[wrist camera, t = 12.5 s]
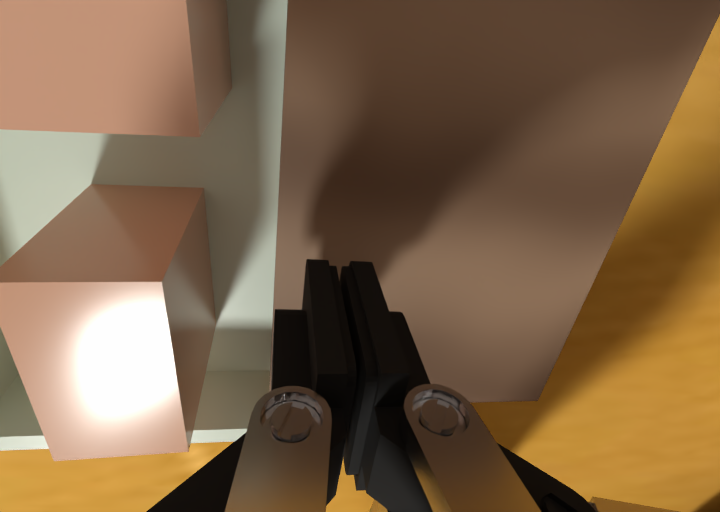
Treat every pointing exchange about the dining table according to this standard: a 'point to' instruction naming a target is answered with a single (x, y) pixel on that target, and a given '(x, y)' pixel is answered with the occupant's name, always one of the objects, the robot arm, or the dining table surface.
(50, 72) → the tile
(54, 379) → the tile
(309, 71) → the board
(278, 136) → the tray
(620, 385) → the dining table surface
